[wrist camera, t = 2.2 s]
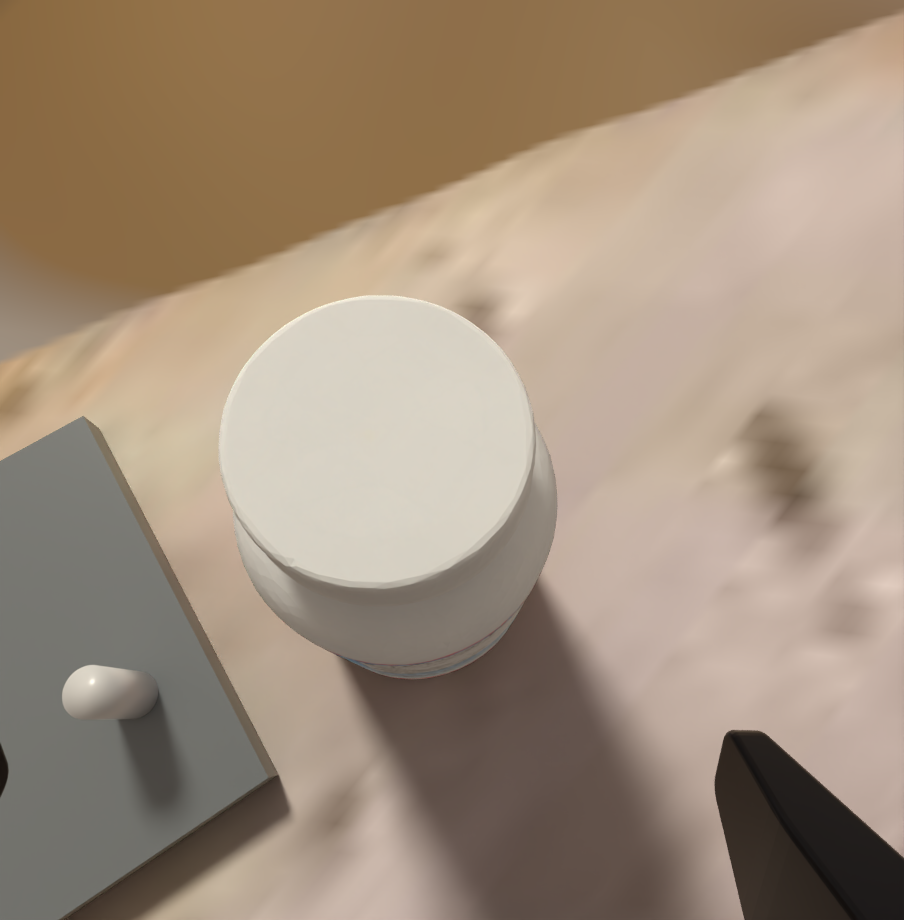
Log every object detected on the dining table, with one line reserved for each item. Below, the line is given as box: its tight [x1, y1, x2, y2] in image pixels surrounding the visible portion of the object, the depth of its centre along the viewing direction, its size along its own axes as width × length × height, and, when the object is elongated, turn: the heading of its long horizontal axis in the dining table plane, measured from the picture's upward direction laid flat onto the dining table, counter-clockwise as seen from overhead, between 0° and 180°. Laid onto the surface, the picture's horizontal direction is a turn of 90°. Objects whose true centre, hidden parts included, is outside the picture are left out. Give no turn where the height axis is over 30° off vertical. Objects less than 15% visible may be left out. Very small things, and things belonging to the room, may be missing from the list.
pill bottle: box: [219, 296, 557, 679], centre depth 15 cm, size 6×6×11 cm
